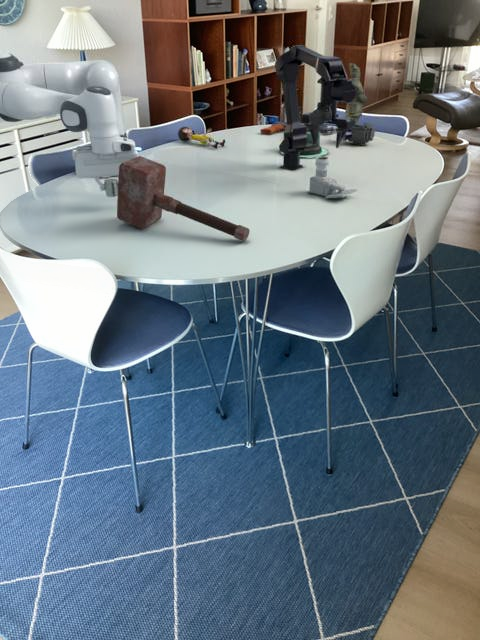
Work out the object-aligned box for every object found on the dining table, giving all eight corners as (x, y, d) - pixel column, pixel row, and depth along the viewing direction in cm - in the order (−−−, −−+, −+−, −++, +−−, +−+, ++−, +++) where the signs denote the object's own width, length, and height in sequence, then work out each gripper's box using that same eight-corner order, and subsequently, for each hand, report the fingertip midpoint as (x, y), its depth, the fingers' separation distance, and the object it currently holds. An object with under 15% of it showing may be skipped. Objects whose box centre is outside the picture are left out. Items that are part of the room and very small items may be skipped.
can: (105, 194, 177) (102, 179, 174) (117, 192, 178) (116, 178, 176) (107, 197, 173) (105, 183, 171) (120, 195, 175) (118, 181, 172)
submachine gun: (254, 130, 262) (277, 120, 281) (254, 136, 263) (277, 126, 282) (316, 136, 248) (336, 125, 267) (316, 142, 250) (336, 131, 268)
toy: (345, 120, 249) (377, 123, 242) (343, 139, 253) (375, 143, 246) (337, 123, 243) (369, 127, 236) (336, 143, 247) (367, 147, 240)
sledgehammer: (260, 200, 149) (138, 154, 161) (243, 211, 142) (117, 162, 153) (248, 256, 159) (134, 209, 171) (232, 269, 152) (114, 219, 163)
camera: (321, 153, 186) (360, 161, 177) (319, 188, 192) (356, 197, 183) (306, 158, 180) (345, 167, 171) (304, 194, 186) (342, 204, 177)
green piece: (332, 145, 241) (326, 158, 224) (294, 164, 249) (286, 177, 233) (317, 113, 235) (310, 124, 219) (279, 133, 244) (269, 145, 228)
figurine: (211, 139, 238) (170, 125, 250) (210, 157, 242) (170, 142, 255) (230, 134, 247) (190, 120, 259) (229, 150, 251) (189, 136, 263)
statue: (367, 132, 266) (374, 63, 251) (349, 133, 264) (355, 64, 249) (357, 127, 275) (362, 61, 260) (339, 129, 273) (344, 62, 258)
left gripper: (69, 149, 164) (77, 195, 171) (139, 145, 167) (144, 190, 174) (71, 144, 169) (78, 189, 176) (139, 140, 172) (143, 184, 179)
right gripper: (292, 99, 187) (290, 146, 195) (339, 104, 176) (336, 154, 184) (311, 95, 194) (309, 140, 202) (357, 100, 183) (353, 148, 191)
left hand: (112, 189), depth 175 cm, fingers closed on can, 4 cm apart
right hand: (326, 146), depth 194 cm, fingers open, 9 cm apart
